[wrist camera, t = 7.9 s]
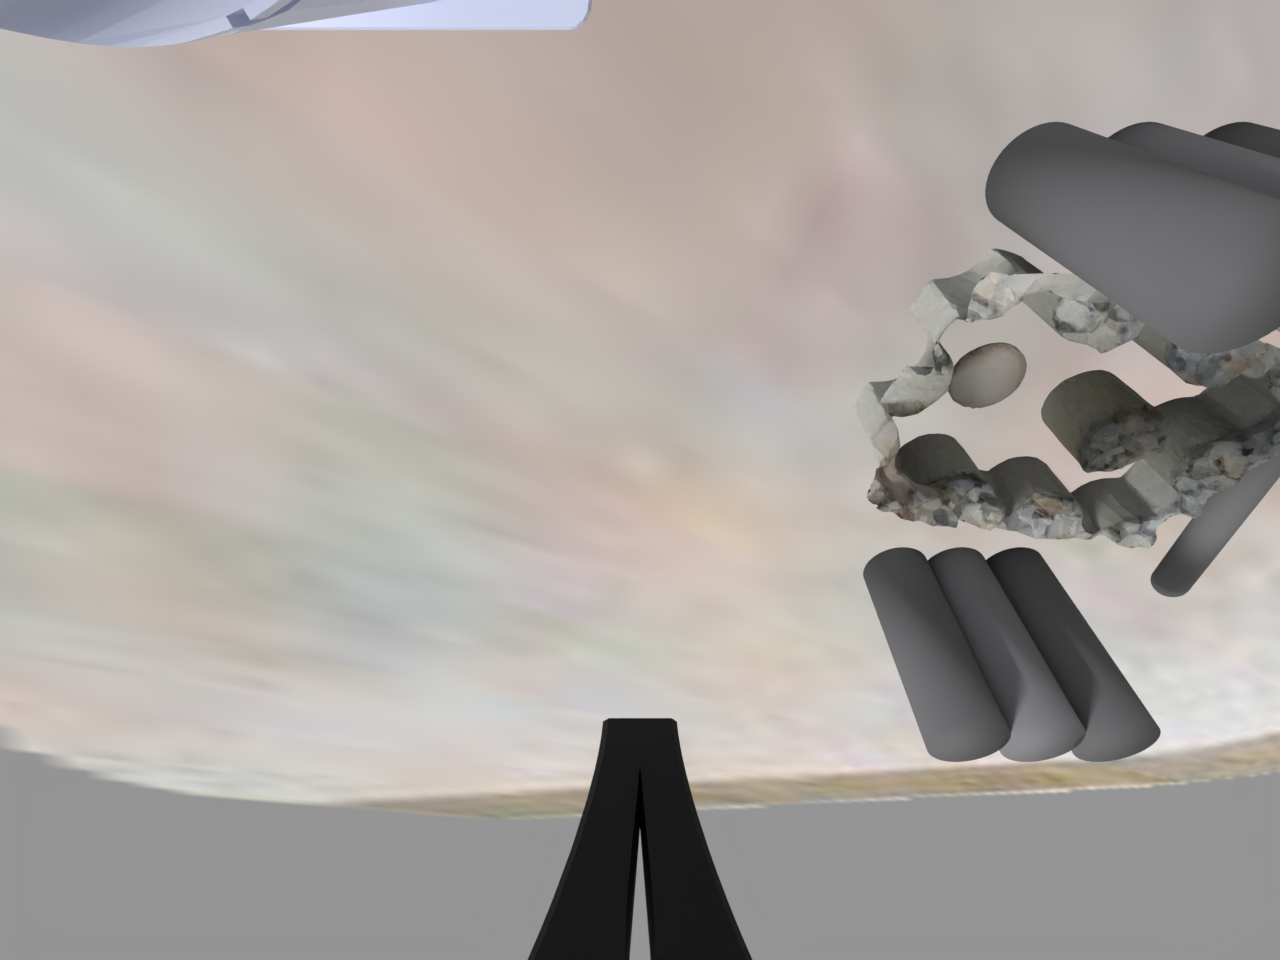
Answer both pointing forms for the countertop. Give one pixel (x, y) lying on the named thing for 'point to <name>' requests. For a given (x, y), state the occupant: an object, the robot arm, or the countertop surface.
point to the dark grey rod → (1212, 530)
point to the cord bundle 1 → (1002, 659)
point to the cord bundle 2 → (1156, 221)
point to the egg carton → (1068, 417)
